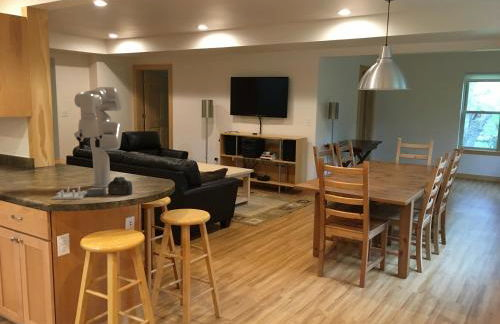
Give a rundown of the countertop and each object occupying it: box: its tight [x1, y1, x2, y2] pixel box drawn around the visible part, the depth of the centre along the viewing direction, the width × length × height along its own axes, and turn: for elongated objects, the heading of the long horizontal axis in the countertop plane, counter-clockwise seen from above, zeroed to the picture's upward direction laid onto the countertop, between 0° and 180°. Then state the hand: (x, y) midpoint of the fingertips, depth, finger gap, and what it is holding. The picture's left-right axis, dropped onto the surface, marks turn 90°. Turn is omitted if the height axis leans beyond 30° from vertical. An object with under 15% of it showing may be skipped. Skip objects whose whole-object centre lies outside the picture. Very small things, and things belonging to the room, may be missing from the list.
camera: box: [107, 176, 133, 196], centre depth 235 cm, size 13×10×10 cm
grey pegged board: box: [52, 186, 87, 200], centre depth 228 cm, size 12×15×4 cm
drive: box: [86, 187, 107, 197], centre depth 232 cm, size 5×9×4 cm, turn 96°
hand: (89, 148), depth 227 cm, fingers open, 9 cm apart
